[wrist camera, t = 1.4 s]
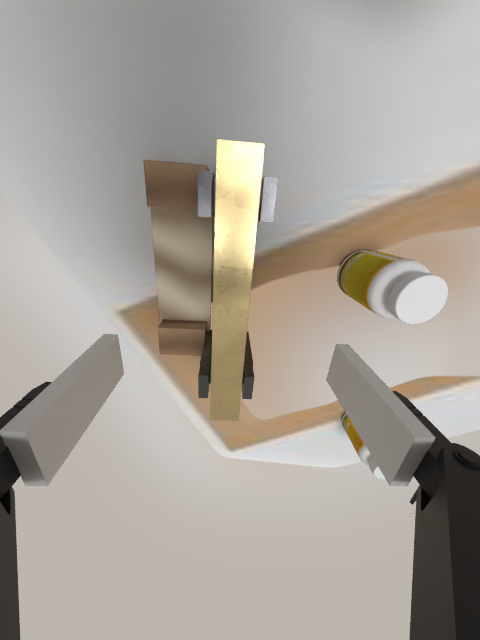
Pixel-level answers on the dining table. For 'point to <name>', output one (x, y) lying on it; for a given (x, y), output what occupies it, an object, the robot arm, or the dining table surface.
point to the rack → (208, 210)
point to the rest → (180, 256)
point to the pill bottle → (392, 286)
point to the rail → (233, 269)
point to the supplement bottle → (361, 447)
